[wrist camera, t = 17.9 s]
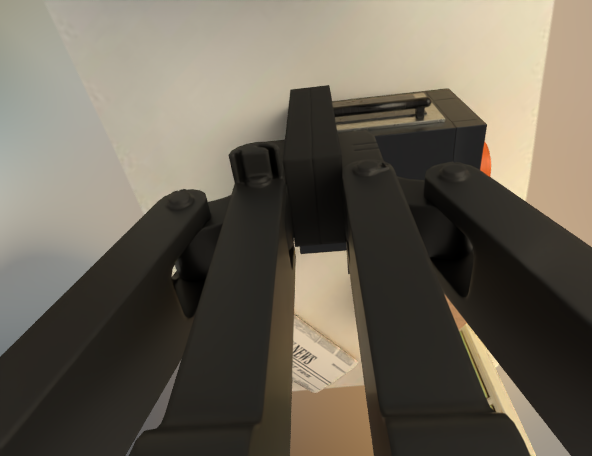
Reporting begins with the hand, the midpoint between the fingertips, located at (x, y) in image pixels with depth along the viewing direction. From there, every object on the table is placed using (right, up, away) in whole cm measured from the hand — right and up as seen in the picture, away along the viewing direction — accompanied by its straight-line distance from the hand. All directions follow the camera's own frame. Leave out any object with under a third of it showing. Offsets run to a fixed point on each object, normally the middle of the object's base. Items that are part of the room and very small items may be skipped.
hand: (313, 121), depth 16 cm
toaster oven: (+8, +6, +30) cm, 32 cm away
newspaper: (-2, -23, +50) cm, 55 cm away
